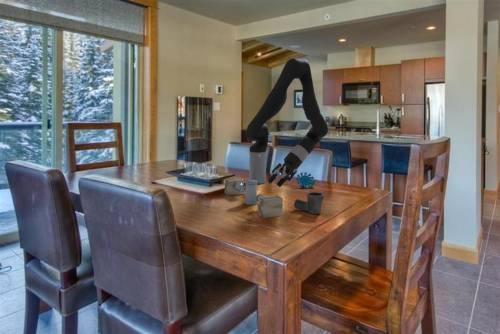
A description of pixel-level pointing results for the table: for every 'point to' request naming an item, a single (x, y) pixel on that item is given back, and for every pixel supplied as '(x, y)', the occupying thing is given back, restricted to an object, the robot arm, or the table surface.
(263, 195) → the shaft
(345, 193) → the table surface
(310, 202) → the pipe
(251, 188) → the coupling
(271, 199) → the block
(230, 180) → the block
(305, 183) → the blue spiky round piece
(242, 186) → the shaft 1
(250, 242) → the table surface
